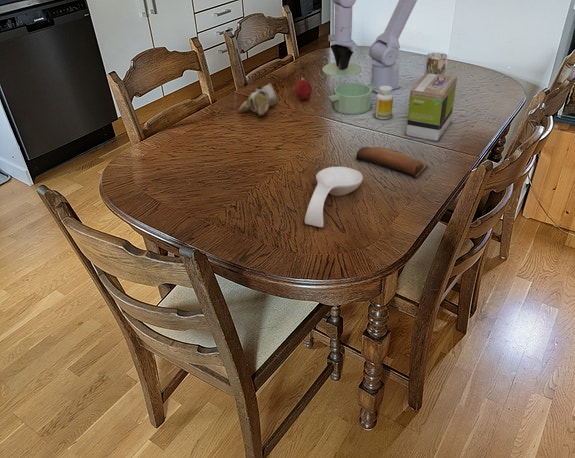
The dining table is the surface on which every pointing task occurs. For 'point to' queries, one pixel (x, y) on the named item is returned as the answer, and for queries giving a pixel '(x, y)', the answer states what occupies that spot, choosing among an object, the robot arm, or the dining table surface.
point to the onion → (303, 89)
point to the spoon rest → (330, 190)
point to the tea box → (431, 106)
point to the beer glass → (436, 63)
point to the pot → (352, 98)
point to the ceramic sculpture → (259, 100)
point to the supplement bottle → (384, 102)
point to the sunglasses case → (391, 159)
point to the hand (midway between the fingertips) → (341, 67)
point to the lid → (341, 70)
